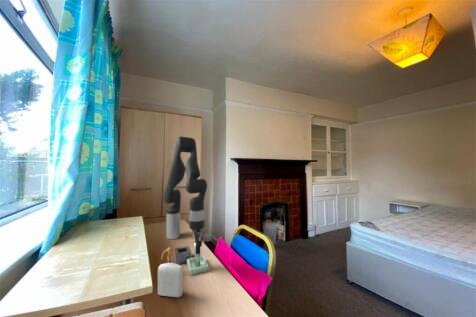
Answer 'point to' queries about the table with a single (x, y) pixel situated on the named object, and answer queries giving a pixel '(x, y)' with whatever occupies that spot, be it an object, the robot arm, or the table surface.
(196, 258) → the pin
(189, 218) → the robot arm
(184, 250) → the socket block
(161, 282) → the photo printer
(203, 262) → the tray
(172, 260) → the figurine
